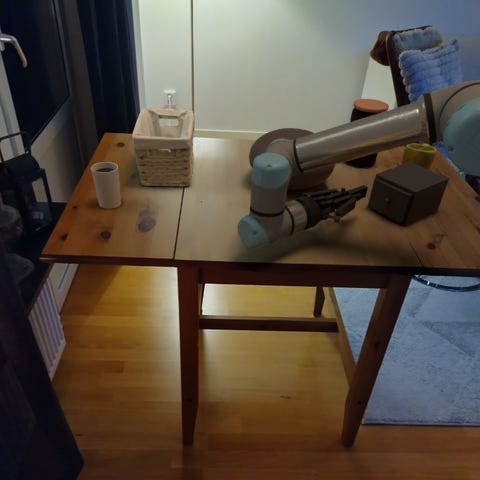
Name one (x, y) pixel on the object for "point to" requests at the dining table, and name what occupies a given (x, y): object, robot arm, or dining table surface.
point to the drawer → (389, 200)
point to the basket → (164, 147)
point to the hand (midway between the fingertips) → (364, 191)
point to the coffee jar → (361, 111)
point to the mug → (419, 155)
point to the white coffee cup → (107, 184)
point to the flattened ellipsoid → (295, 181)
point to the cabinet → (417, 189)
